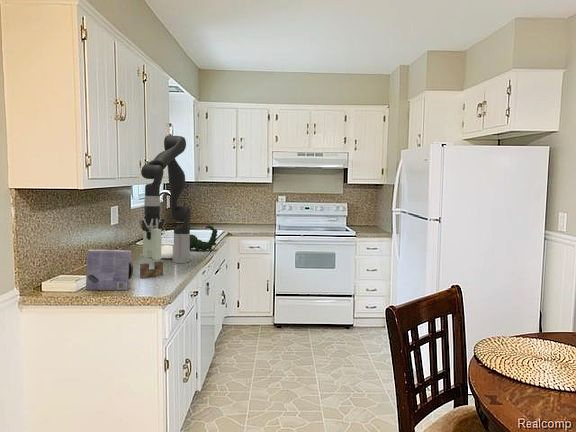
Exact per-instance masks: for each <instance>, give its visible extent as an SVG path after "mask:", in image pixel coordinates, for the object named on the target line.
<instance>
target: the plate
mask: <svg viewBox="0 0 576 432" xmlns="http://www.w3.org/2000/svg"><path fill="white" fill-rule="evenodd" d="M161 259H173V245H165V244H164V245H161Z"/></svg>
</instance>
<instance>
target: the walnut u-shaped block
mask: <svg viewBox="0 0 576 432" xmlns="http://www.w3.org/2000/svg"><path fill="white" fill-rule="evenodd" d="M153 263H154V264H153V265H154V268H150V263H148V262H146V263H145V262H143V263H140V265H139V279H148V278H149V279H150V278H154V277H160V276H164V261H162V260H159V261H157V260H156V261H154V262H153Z"/></svg>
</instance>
